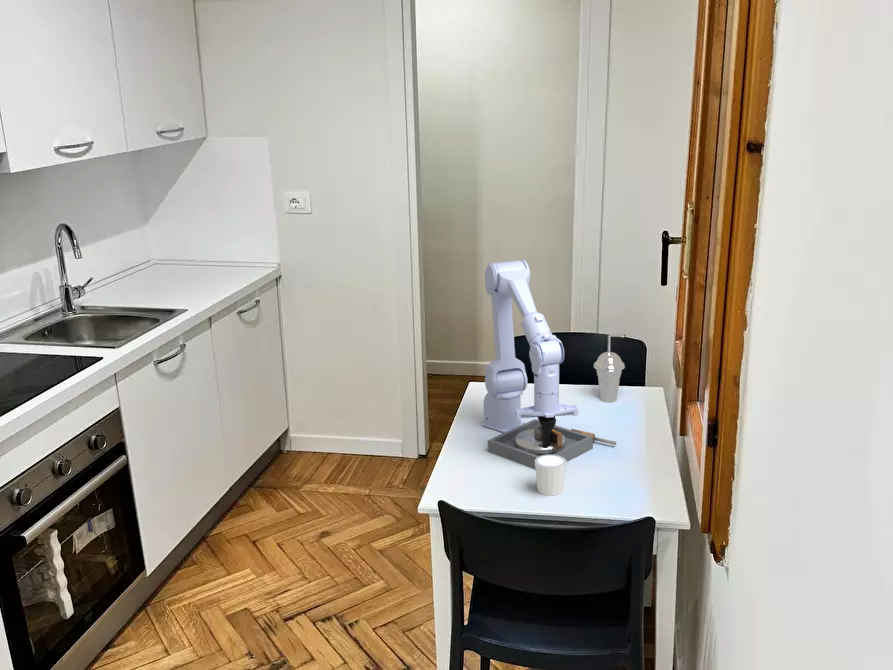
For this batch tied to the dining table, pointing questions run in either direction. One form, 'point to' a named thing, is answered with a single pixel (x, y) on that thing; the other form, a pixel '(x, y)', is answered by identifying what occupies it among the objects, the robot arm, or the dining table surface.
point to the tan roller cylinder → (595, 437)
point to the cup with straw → (609, 373)
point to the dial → (539, 441)
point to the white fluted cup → (550, 474)
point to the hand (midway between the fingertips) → (546, 445)
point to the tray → (507, 449)
